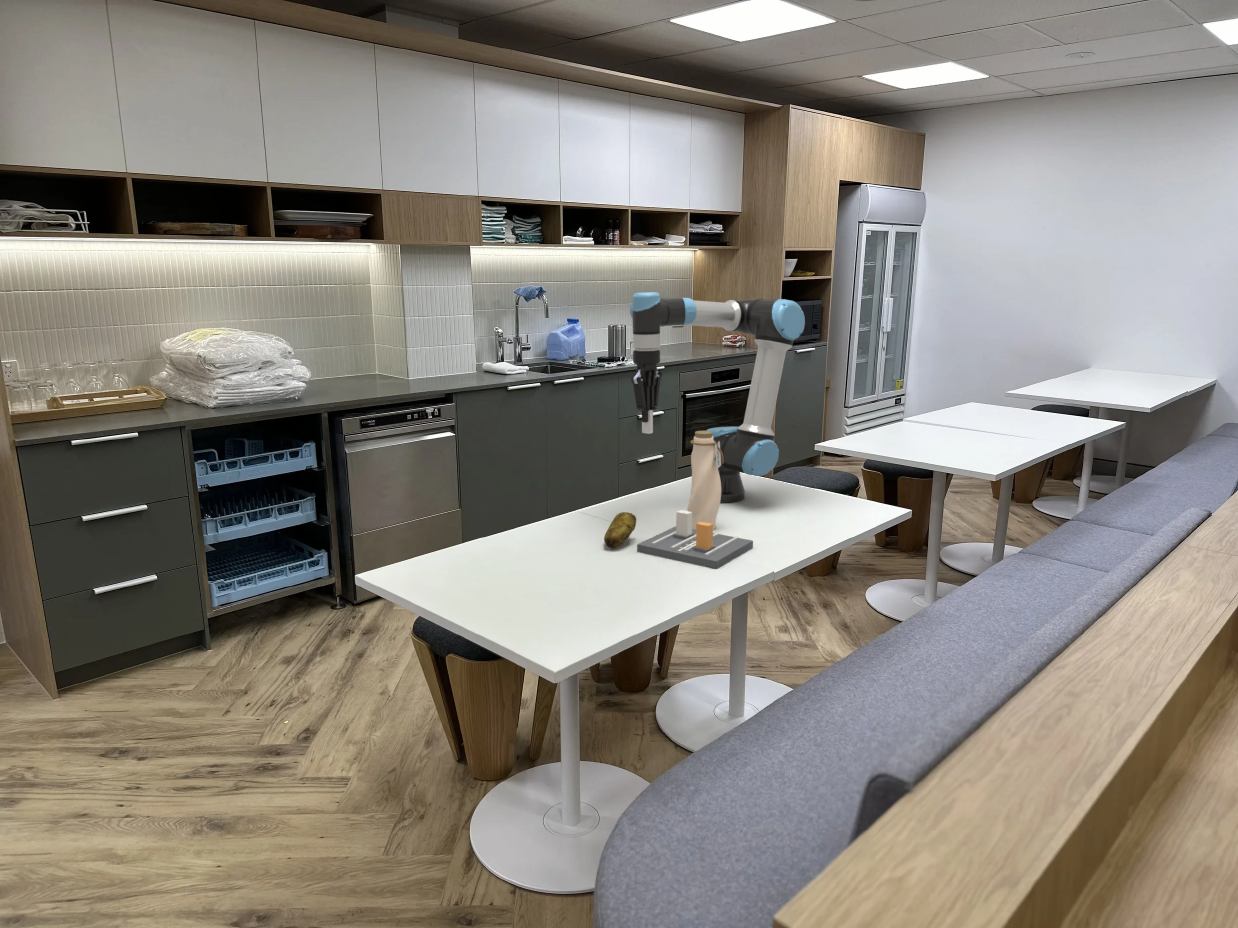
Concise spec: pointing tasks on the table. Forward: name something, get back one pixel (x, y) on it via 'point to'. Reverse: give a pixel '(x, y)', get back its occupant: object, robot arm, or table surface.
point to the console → (685, 551)
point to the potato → (620, 529)
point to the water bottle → (705, 479)
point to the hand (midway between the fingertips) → (647, 432)
